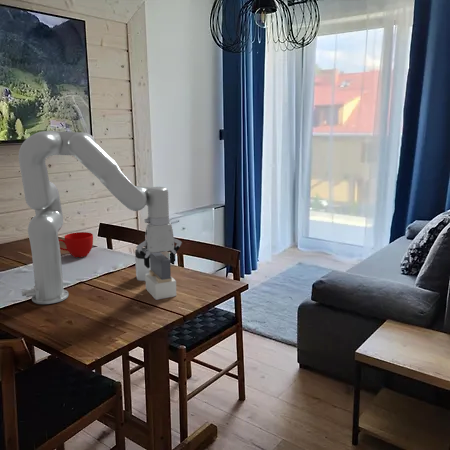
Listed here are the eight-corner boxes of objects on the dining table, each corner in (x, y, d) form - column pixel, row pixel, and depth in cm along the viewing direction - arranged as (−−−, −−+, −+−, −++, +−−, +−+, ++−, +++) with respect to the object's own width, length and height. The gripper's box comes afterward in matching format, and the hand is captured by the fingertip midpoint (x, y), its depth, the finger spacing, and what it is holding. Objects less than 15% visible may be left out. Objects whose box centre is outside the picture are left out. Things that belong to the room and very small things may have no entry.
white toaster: (155, 299, 163) (155, 280, 161) (145, 288, 173) (145, 270, 171) (176, 296, 166) (175, 276, 165) (165, 285, 177) (164, 267, 175)
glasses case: (161, 279, 162) (161, 261, 160) (150, 269, 173) (149, 252, 171) (170, 278, 163) (170, 260, 162) (158, 268, 174) (158, 250, 173)
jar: (135, 275, 188) (133, 247, 186) (154, 273, 191) (153, 246, 188) (137, 282, 180) (136, 253, 177) (157, 280, 182) (156, 252, 180)
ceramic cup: (56, 254, 216) (54, 234, 214) (91, 250, 223) (90, 231, 221) (58, 262, 205) (56, 241, 202) (96, 257, 212) (94, 237, 209)
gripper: (138, 225, 156) (140, 271, 160) (184, 220, 164) (185, 264, 168) (132, 221, 163) (134, 265, 167) (177, 216, 170) (177, 259, 174)
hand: (160, 265), depth 167 cm, fingers open, 9 cm apart
